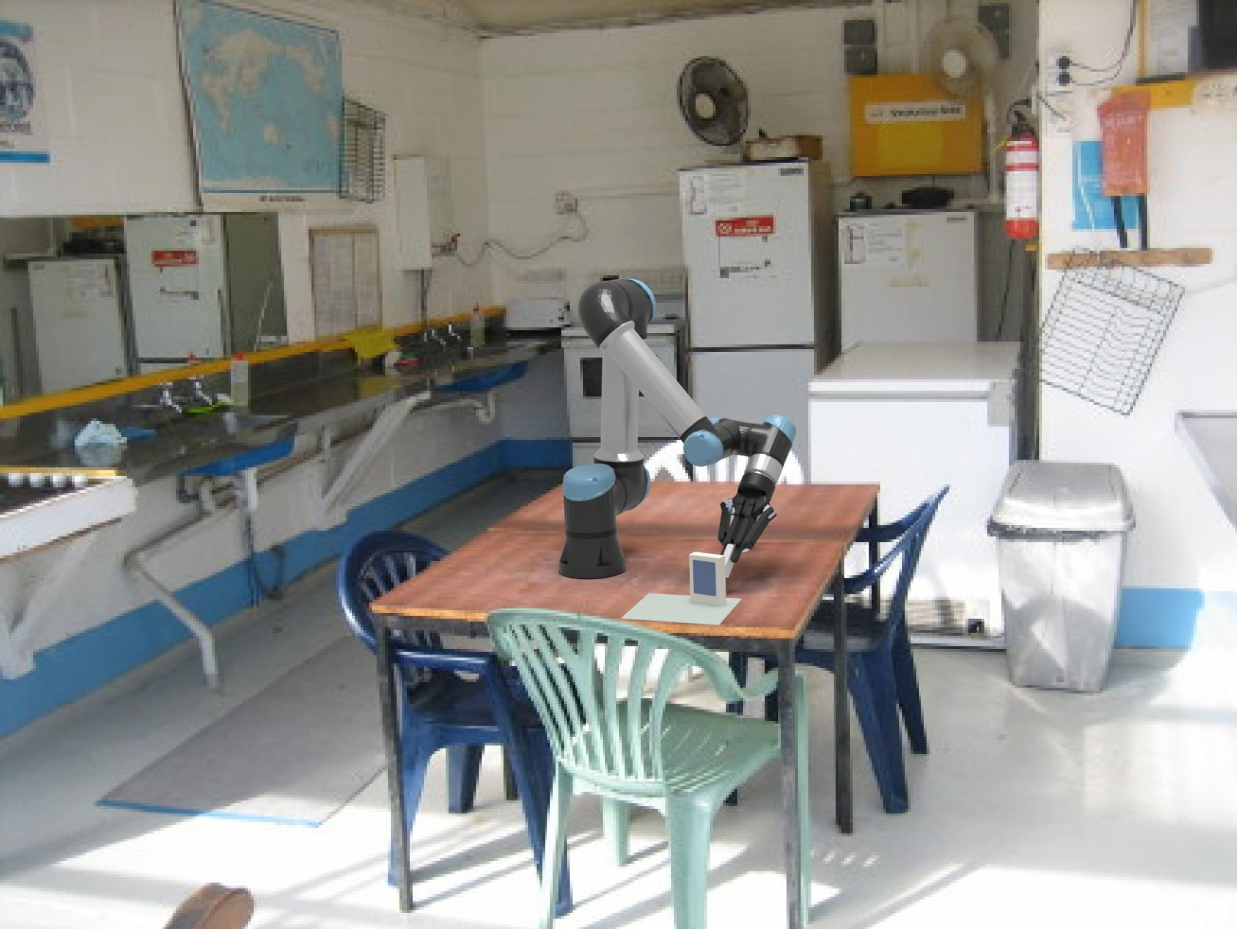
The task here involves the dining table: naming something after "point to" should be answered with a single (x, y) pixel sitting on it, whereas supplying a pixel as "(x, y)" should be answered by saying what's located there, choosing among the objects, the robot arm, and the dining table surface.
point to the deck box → (707, 578)
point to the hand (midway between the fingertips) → (722, 574)
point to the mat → (679, 610)
